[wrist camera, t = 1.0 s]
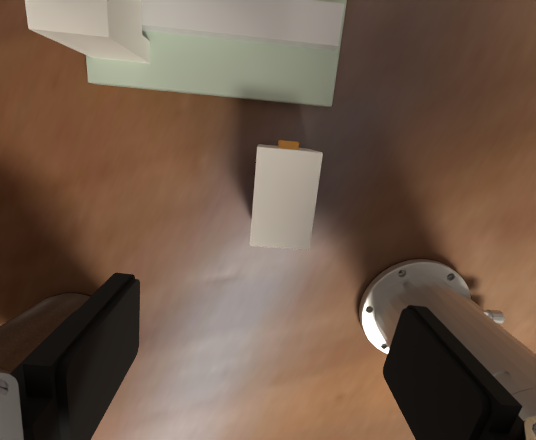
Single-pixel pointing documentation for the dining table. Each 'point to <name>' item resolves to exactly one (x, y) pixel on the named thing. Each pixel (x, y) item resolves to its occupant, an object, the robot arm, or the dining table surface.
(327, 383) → the dining table surface
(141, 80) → the din panel
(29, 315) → the plant pot
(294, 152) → the block
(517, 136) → the dining table surface
